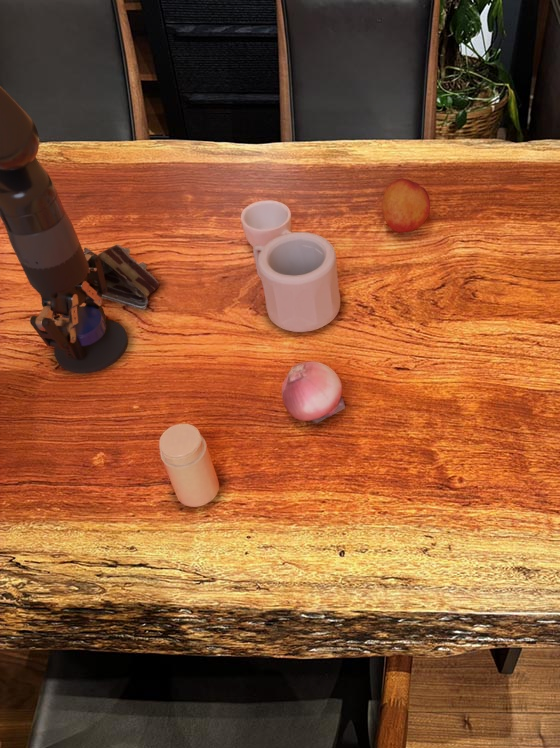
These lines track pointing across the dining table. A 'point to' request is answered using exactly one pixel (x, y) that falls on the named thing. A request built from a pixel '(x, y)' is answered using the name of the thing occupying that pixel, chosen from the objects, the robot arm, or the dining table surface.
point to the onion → (312, 392)
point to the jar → (188, 465)
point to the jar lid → (88, 325)
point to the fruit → (405, 205)
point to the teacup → (265, 221)
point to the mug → (299, 280)
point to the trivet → (97, 351)
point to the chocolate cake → (125, 277)
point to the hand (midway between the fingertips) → (89, 340)
